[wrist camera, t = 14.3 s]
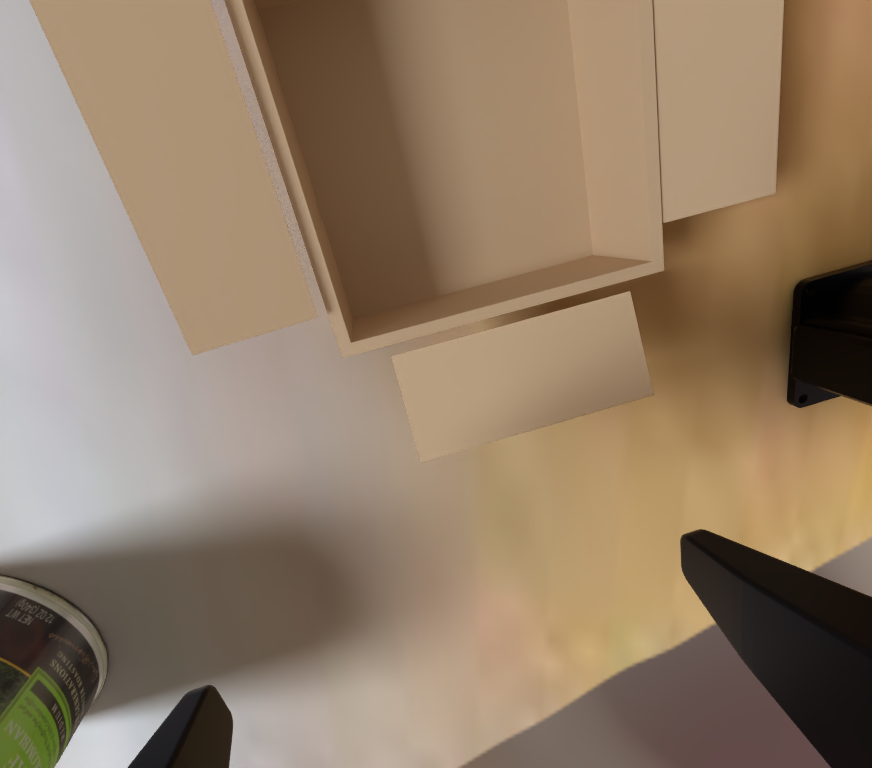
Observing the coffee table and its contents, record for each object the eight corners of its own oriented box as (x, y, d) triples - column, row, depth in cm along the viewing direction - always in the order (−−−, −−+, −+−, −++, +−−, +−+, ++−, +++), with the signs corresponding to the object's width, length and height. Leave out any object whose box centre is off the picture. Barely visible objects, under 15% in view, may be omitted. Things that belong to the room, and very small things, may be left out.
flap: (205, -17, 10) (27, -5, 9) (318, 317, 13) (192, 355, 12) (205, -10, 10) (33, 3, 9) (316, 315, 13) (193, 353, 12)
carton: (674, -261, 14) (808, -472, 10) (686, 238, 19) (775, 239, 15) (188, -171, 13) (104, -364, 9) (346, 329, 18) (342, 358, 14)
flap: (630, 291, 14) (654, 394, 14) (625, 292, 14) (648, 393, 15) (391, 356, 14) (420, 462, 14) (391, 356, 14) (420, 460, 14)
